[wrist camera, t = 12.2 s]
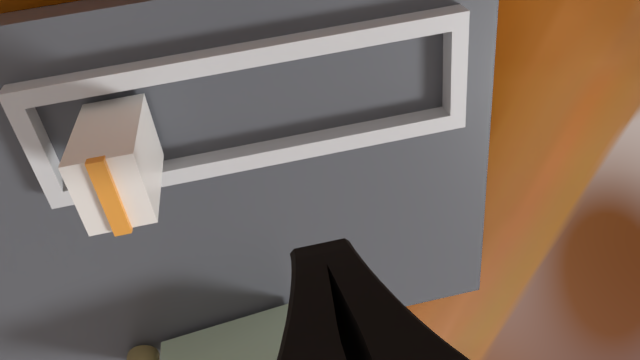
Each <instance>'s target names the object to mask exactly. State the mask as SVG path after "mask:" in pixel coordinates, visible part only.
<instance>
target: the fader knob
mask: <svg viewBox="0 0 640 360" xmlns="http://www.w3.org/2000/svg"><path fill="white" fill-rule="evenodd" d="M163 159H164V154H163V151H162V147H161V144H160V141H159V138H158V135H157V132H156V129H155V126H154V122H153V119H152V116H151V113H150V110H149V107H148V104H147V101H146V97H145V94H144V93H143V94H137V95H132V96H126V97H121V98H115V99H110V100H104V101H99V102H93V103H88V104H83V105H82V107H81V110H80V112H79V115H78V118H77V120H76V123H75V125H74V128H73V130H72V133H71V136H70V138H69V141H68V143H67V146H66V148H65V151H64V153H63V156H62V159H61V161H60V164H59V166H58V169H59V171H60V174H61V176H62V178H63V180H64V182H65V185H66V187H67V189H68V191H69V194H70V196H71V198H72V200H73V202H74V205H75V207H76V209H77V211H78V213H79V216H80V218H81V220H82V222H83V224H84V227H85V229H86V231H87V233H88V235H89V236H94V235H99V234H104V233H109V232H113V234H114V236H115V237H116V236H121V235H126V234H130V233H132V230H133V227H138V226H143V225H148V224H153V223H158V215H159V204H160V193H161V181H162V170H163Z"/></svg>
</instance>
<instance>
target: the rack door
mask: <svg viewBox="0 0 640 360" xmlns="http://www.w3.org/2000/svg"><path fill="white" fill-rule="evenodd" d="M287 311H288V304H285V305H282V306H279V307H275V308H272V309H269V310H266V311H262V312H259V313H256V314H252V315H249V316H246V317H242V318H239V319H236V320H233V321H229V322H226V323H223V324H219V325H216V326H213V327H209V328H206V329H203V330H200V331H196V332H193V333H190V334H186V335H183V336H180V337H176V338H173V339H170V340H167V341H163V342H161V349H160V353H159V351H158V350H157V349H156V348H155V347H153V346H149V345H139V346H136V347H134V348H132V349H131V350H130V351H129V352H128V354H127V360H159V359H160V360H277V357H278V353H279V349H280V345H281V340H282V336H283V332H284V327H285V323H286V317H287Z"/></svg>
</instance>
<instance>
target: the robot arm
mask: <svg viewBox="0 0 640 360" xmlns="http://www.w3.org/2000/svg"><path fill="white" fill-rule="evenodd" d="M290 257H291V288H290V297H289V304H288V311H287V317H286V323H285V327H284V332H283V336H282V340H281V345H280V349H279V353H278V357H277V360H469V359H468V358H467V357H465V356H464V355H463V354H461V353H460V352H459V351H457V350H456V349H455V348H453V347H452V346H450V345H449V344H448V343H447V342H445V341H444V340H443V339H442V338H440V337H439V336H438V335H437V334H435V333H434V332H433V331H432V330H431V329H430V328H428V327H427V326H426V325H425V324H424V323H423V322H422V321H420V320H419V319H418V318H417V317H416V316H415V315H414V314H413V313H412V312H411V311H410V310H409V309H407V308H406V307H405V306H404V305H403V304H402V303H401V302H400V301H399V300H398V299H397V298H396V297H395V296H394V295H393V294H392V292H391V291H390V290H389V289H388V288H387V287H386V286H385V285H384V284H383V283H382V282H381V281H380V280H379V279H378V277H377V276H376V275H375V274H374V273H373V272H372V270H371V269H370V268H369V267H368V266H367V264H366V263H365V262H364V261H363V259H362V258H361V257H360V256H359V254H358V253H357V252H356V250H355V249H354V247H353V246H352V244H351V243H350V241H348V240H347V239H345V238H343V239H338V240H333V241H328V242H324V243H319V244H314V245H309V246H305V247H300V248H295V249H293V250H292V252H291V253H290Z"/></svg>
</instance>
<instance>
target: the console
mask: <svg viewBox="0 0 640 360" xmlns="http://www.w3.org/2000/svg"><path fill="white" fill-rule="evenodd" d="M498 3H499V0H81V1H75V2H69V3H63V4H57V5H51V6H45V7H38V8H32V9H26V10H20V11H14V12H8V13H2V14H0V360H127V354H128V352H129V351H130V350H131V349H132V348H134V347H136V346H139V345H149V346H153V347H155V348H156V349H157V350H158V351H159V353H160V349H161V342H163V341H167V340H170V339H173V338H176V337H180V336H183V335H186V334H190V333H193V332H196V331H200V330H203V329H206V328H209V327H213V326H216V325H219V324H223V323H226V322H229V321H233V320H236V319H239V318H242V317H246V316H249V315H252V314H256V313H259V312H262V311H266V310H269V309H272V308H275V307H279V306H282V305H285V304H289V297H290V288H291V257H290V253H291V252H292V250H293V249H295V248H300V247H305V246H309V245H314V244H319V243H324V242H328V241H333V240H338V239H343V238H345V239H347V240H348V241H350V243H351V244H352V246H353V247H354V249H355V250H356V252H357V253H358V254H359V256H360V257H361V258H362V259H363V261H364V262H365V263H366V264H367V266H368V267H369V268H370V269H371V270H372V272H373V273H374V274H375V275H376V276H377V277H378V279H379V280H380V281H381V282H382V283H383V284H384V285H385V286H386V287H387V288H388V289H389V290H390V291H391V292H392V294H393V295H394V296H395V297H396V298H397V299H398V300H399V301H400V302H401V303H402V304H403V305H404V306H409V305H414V304H418V303H423V302H427V301H431V300H436V299H440V298H444V297H449V296H453V295H458V294H462V293H466V292H471V291H475V290H479V286H480V272H481V257H482V242H483V227H484V212H485V197H486V182H487V167H488V152H489V137H490V122H491V107H492V92H493V77H494V63H495V48H496V33H497V18H498ZM143 93H144V94H145V97H146V101H147V104H148V107H149V110H150V113H151V116H152V119H153V122H154V126H155V129H156V132H157V135H158V138H159V141H160V144H161V147H162V151H163V154H164V159H163V170H162V181H161V193H160V204H159V215H158V223H153V224H148V225H143V226H138V227H133V230H132V233H130V234H126V235H121V236H116V237H115V236H114V234H113V232H109V233H104V234H99V235H94V236H89V235H88V233H87V231H86V229H85V227H84V224H83V222H82V220H81V218H80V216H79V213H78V211H77V209H76V207H75V205H74V202H73V200H72V198H71V196H70V194H69V191H68V189H67V187H66V185H65V182H64V180H63V178H62V176H61V174H60V171H59V169H58V166H59V164H60V161H61V159H62V156H63V153H64V151H65V148H66V146H67V143H68V141H69V138H70V136H71V133H72V130H73V128H74V125H75V123H76V120H77V118H78V115H79V112H80V110H81V107H82V105H83V104H88V103H93V102H99V101H104V100H110V99H115V98H121V97H126V96H132V95H137V94H143ZM159 360H160V359H159Z"/></svg>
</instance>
